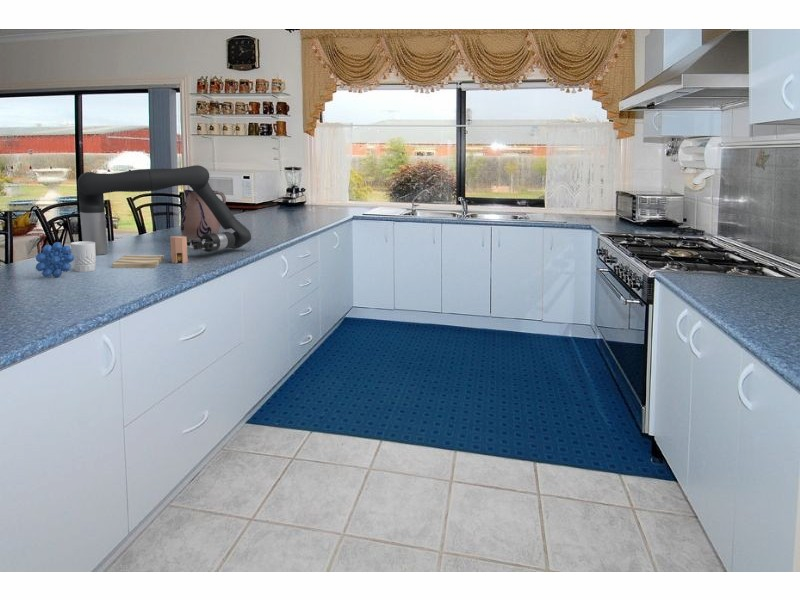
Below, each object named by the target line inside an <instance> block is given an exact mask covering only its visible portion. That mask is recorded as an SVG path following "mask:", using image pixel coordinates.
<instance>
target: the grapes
mask: <svg viewBox="0 0 800 600" xmlns="http://www.w3.org/2000/svg"><path fill="white" fill-rule="evenodd" d="M71 252H72V250H71V246H69V245H64V246H63V244H62V242H60V241H56V242H54V243H53V245H50V244H45V245H44V246H42V252H39V253H37V255H36V256H35V260H36V262H38V263H36V265H35V269H36V271H38V272H41V273H42V276H43V277H45V278H50V277H51V276H53V278H59V277H61V276H62V274H63V272H65V273H66V272H68V271H69V270H70V269H71V267H72V266H71V264H70V263H73V259H74V256H73V254H72V253H71Z"/></svg>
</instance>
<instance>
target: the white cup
mask: <svg viewBox="0 0 800 600" xmlns="http://www.w3.org/2000/svg"><path fill="white" fill-rule="evenodd" d="M70 248H71V254H73V256H74V259H73V261H72V263H73V267H74V271H75V272H77V273H79V272H80V273H89V272H94V271H96V262H97V261H96V259H97V258H96V256H97V255H96V251H95V242H90V241H74V242H73V241H72V242H70Z"/></svg>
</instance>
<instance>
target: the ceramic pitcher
mask: <svg viewBox="0 0 800 600" xmlns="http://www.w3.org/2000/svg"><path fill="white" fill-rule="evenodd" d="M213 191H214V193H215V194H216V195H219V196H221V200H222V202H223V203H224V204H225V205H227V203H226V202H227V201H226V199H227V197H226V195H225V194H224V193H223V192H222V191H219V190H213ZM183 192H184V205H183V209H182V214H181V219H180V232H181V234H182V236H187V239H200V238H201V237H202V236H203V235H204V234H209V233H220V232H219V231H220V228H221V225H220V223H219V222H218V220H217V219H216V218H215V216H214V215H213V213H212V212H211V210H210V209H209V208H208V206H207V205H206V204H205V202H204V201H203V200H202V199H201V198H200V196H199V195H198V194H197V193H196V192H195V191H194V190H193V189H183Z"/></svg>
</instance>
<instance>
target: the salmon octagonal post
mask: <svg viewBox="0 0 800 600" xmlns="http://www.w3.org/2000/svg"><path fill="white" fill-rule="evenodd" d="M169 239H170V254H171V255H170V257H171V258H170V259H171V260H170V261H171V263H174V264H178V261H177V254H182V262H181V263H182V264H186V263H188V262H189V261H188V258H189V257H188V247H187V236H183V235H172V236H170V237H169Z"/></svg>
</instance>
